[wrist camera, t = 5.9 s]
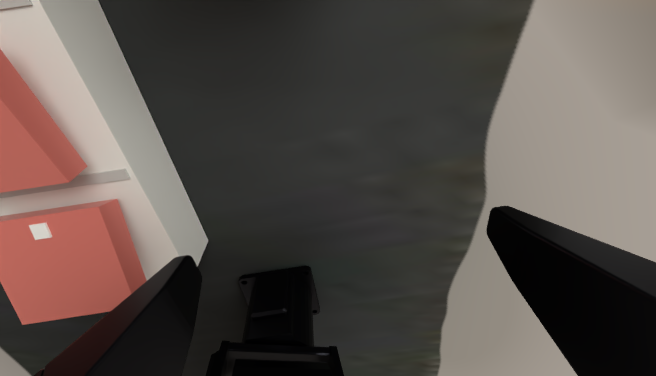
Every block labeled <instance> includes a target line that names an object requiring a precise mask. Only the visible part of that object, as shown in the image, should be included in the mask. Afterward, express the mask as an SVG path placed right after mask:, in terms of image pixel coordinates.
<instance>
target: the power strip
mask: <svg viewBox="0 0 656 376" xmlns="http://www.w3.org/2000/svg"><path fill="white" fill-rule="evenodd" d="M0 49H1V50H2V52H3V53H4V54H5V56H6V57H7V58H8V60H9V61H10V62H11V64H12V65H13V66H14V68H15V69H16V70H17V72H18V73H19V74H20V76H21V77H22V79H23V80H24V81H25V83H26V84H27V85H28V87H29V88H30V89H31V91H32V92H33V93H34V95H35V96H36V97H37V99H38V100H39V101H40V103H41V104H42V105H43V107H44V108H45V109H46V111H47V112H48V114H49V115H50V116H51V118H52V119H53V120H54V122H55V123H56V124H57V126H58V127H59V128H60V130H61V131H62V132H63V134H64V135H65V136H66V138H67V139H68V140H69V142H70V143H71V144H72V146H73V147H74V149H75V150H76V151H77V153H78V154H79V155H80V157H81V158H82V159H83V161H84V162H85V163H86V165H87V167H86V168H85V169H84V170H83V171H82V172H81V173H79V174H78V175H77V176H76V177H75V178H74V179H73V180H72V181H70V182H69V183H62V184H56V185H49V186H42V187H36V188H29V189H22V190H16V191H9V192H2V193H0V216H5V215H12V214H19V213H25V212H32V211H39V210H45V209H52V208H58V207H65V206H72V205H78V204H85V203H91V202H98V201H105V200H111V199H118V202H119V205H120V208H121V210H122V213H123V216H124V219H125V221H126V224H127V227H128V230H129V233H130V235H131V238H132V241H133V244H134V247H135V249H136V252H137V255H138V258H139V261H140V263H141V266H142V269H143V272H144V275H145V277H146V280H149V279H150V278H151V277H152V276H153V275H154V274H156V273H157V272H158V271H159V270H160V269H162V268H163V267H164V266H165V265H166V264H168V263H169V262H170V261H171V260H172V259H174V258H175V257H178V256H184V255H190V256H191V257H192V258H193V259H194V261H195V263H196V265H197V267H198V264H199V262H200V260H201V257H202V255H203V252H204V250H205V248H206V245H207V243H208V239H207V236H206V234H205V232H204V230H203V228H202V226H201V223H200V221H199V219H198V217H197V215H196V212H195V210H194V208H193V206H192V204H191V202H190V199H189V197H188V195H187V193H186V191H185V189H184V186H183V184H182V182H181V180H180V178H179V175H178V173H177V171H176V169H175V167H174V165H173V162H172V160H171V158H170V156H169V154H168V151H167V149H166V147H165V145H164V143H163V141H162V138H161V136H160V134H159V132H158V130H157V128H156V125H155V123H154V121H153V119H152V117H151V114H150V112H149V110H148V108H147V106H146V104H145V101H144V99H143V97H142V95H141V93H140V91H139V88H138V86H137V84H136V82H135V80H134V77H133V75H132V73H131V71H130V69H129V67H128V64H127V62H126V60H125V58H124V56H123V53H122V51H121V49H120V47H119V45H118V43H117V40H116V38H115V36H114V34H113V32H112V30H111V27H110V25H109V23H108V21H107V19H106V16H105V14H104V12H103V10H102V8H101V6H100V3H99V1H98V0H0Z"/></svg>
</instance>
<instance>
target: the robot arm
mask: <svg viewBox="0 0 656 376" xmlns="http://www.w3.org/2000/svg"><path fill="white" fill-rule="evenodd" d="M487 235H488V238H489V239H490V241H491V243H492V245H493V246H494V249H495V250H496V252H497V254H498V256H499V258H500V260H501V261H502V263H503V265H504V267H505V269H506V270H507V272H508V274H509V276H510V277H511V279H512V281H513V282H514V284H515V285H516V287H517V289H518V290H519V291H520V293H521V294H522V296H523V297H524V299H525V300H526V302H527V303H528V304H529V306H530V307H531V308H532V310H533V312H534V313H535V315H536V316H537V317H538V319H539V320H540V322H541V323H542V325H543V326H544V328H545V329H546V330H547V332H548V333H549V335H550V336H551V338H552V339H553V341H554V342H555V343H556V345H557V346H558V348H559V349H560V351H561V352H562V354H563V355H564V357H565V358H566V359H567V361H568V362H569V364H570V365H571V366H572V368H573V369H574V371H575V372H576V374H577V375H578V376H656V262H653V261H651V260H648V259H645V258H643V257H640V256H637V255H635V254H632V253H630V252H627V251H624V250H622V249H619V248H617V247H614V246H611V245H609V244H606V243H604V242H601V241H598V240H595V239H593V238H590V237H587V236H585V235H583V234H580V233H577V232H575V231H572V230H569V229H567V228H564V227H562V226H559V225H556V224H554V223H551V222H549V221H546V220H543V219H541V218H538V217H536V216H533V215H530V214H527V213H525V212H522V211H520V210H517V209H515V208H512V207H509V206H500V207H494V208H492V210H491V211H490V216H489V221H488V225H487ZM304 271H307V272H304ZM201 284H202V276H201V273H200V271H199V269H198V267H197V265H196V263H195V261H194V259H193V258H192V257H191V256H190V255H184V256H178V257H175V258H174V259H172V260H171V261H170V262H169V263H168V264H166V265H165V266H164V267H163V268H162V269H160V270H159V271H158V272H157V273H156V274H154V275H153V276H152V277H151V278H150V279H149V280H147V281H146V282H145V283H144V284H143V285H141V286H140V287H139V288H138V289H137V290H135V291H134V292H133V293H132V294H131V295H129V296H128V297H127V298H126V299H125V300H123V301H122V302H121V303H120V304H119V305H118V306H116V307H115V308H114V309H113V310H112V311H110V312H109V313H108V314H107V315H106V316H104V317H103V318H102V319H101V320H100V321H98V322H97V323H96V324H95V325H94V326H93V327H91V328H90V329H89V330H88V331H87V332H85V333H84V334H83V335H82V336H81V337H79V338H78V339H77V340H76V341H75V342H73V343H72V344H71V345H70V346H69V347H68V348H66V349H65V350H64V351H63V352H62V353H60V354H59V355H58V356H57V357H56V358H54V359H53V360H52V361H51V362H50V363H48V364H47V365H46V366H45V369H41V370H40V371H39V372H38V373H36V374H35V375H34V376H181V375H182V372H183V368H184V364H185V361H186V357H187V354H188V350H189V346H190V343H191V339H192V335H193V331H194V326H195V320H196V314H197V308H198V302H199V296H200V290H201ZM239 285H240V288H241V290H242V292H243V295H244V297H245V299H246V302H247V304H248V312H247V317H246V323H245V328H244V334H243V339H242V343H231V342H230V341H222V343H221V347H220V350H219V351H217V352H216V353H214V354H212V355H211V358H210V362H209V366H208V369H207V373H206V376H344V374H343V370H342V366H341V362H340V358H339V354H338V350H337V347H336V346H329V347H314V337H313V315H316V314H318V313H319V312H320V307H319V303H318V298H317V294H316V289H315V285H314V280H313V276H312V271H311V268H310V267H309V266H301V267H295V268H288V269H282V270H275V271H269V272H262V273H256V274H249V275H243V276H241V277H240V278H239Z"/></svg>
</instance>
